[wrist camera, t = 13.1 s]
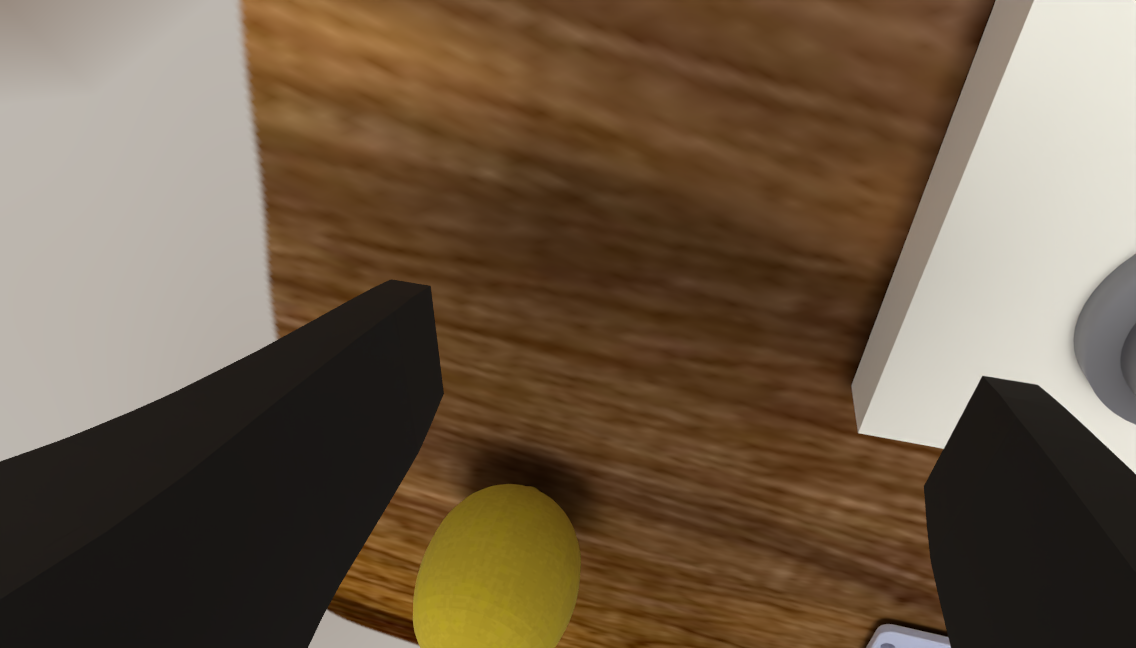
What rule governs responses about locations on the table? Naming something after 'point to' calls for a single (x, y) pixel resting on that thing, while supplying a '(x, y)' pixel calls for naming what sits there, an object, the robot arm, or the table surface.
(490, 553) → the lemon
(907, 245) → the notched board
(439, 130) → the table surface
